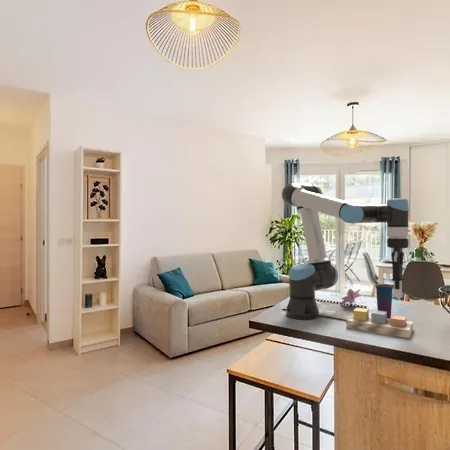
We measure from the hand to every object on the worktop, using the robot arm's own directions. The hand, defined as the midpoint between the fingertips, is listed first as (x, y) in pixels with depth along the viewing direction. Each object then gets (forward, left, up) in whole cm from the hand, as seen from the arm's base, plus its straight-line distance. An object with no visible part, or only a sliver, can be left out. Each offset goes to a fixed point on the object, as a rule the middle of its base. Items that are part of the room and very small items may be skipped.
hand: (397, 296), depth 131 cm
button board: (-7, 0, -14) cm, 15 cm away
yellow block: (-14, 0, -11) cm, 18 cm away
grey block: (-7, 0, -11) cm, 13 cm away
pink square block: (0, 0, -12) cm, 12 cm away
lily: (-25, +29, -14) cm, 41 cm away
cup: (-7, +14, -14) cm, 21 cm away
